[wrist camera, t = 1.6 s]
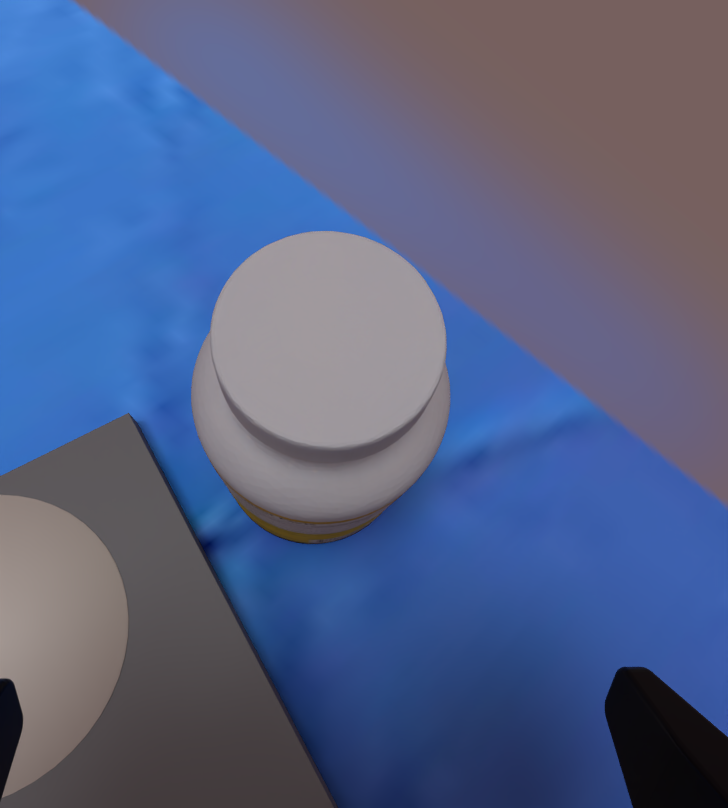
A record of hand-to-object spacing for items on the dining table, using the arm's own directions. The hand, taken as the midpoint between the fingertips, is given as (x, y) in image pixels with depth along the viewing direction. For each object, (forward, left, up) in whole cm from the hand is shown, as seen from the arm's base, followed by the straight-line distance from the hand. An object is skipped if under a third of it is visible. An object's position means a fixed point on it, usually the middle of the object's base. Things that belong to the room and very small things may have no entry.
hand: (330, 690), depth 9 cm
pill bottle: (+5, -3, -13) cm, 14 cm away
